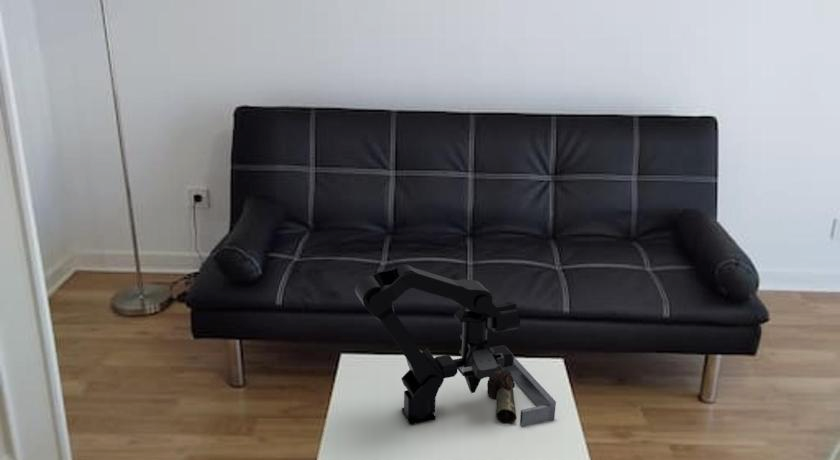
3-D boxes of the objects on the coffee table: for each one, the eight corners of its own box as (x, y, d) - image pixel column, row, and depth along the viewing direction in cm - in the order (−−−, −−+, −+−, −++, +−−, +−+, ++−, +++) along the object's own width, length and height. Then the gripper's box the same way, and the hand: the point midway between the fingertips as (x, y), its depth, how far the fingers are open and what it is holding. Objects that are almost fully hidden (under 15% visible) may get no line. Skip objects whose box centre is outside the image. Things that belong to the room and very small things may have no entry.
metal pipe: (516, 425, 181) (517, 405, 179) (487, 424, 182) (488, 403, 180) (513, 384, 198) (514, 364, 196) (486, 382, 198) (487, 363, 196)
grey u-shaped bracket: (521, 426, 180) (523, 408, 178) (479, 374, 201) (480, 357, 199) (554, 420, 183) (555, 401, 181) (509, 369, 204) (510, 352, 202)
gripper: (450, 357, 171) (448, 418, 177) (526, 344, 177) (522, 402, 183) (432, 334, 181) (431, 392, 187) (505, 322, 187) (502, 378, 193)
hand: (472, 392), depth 187 cm, fingers closed
